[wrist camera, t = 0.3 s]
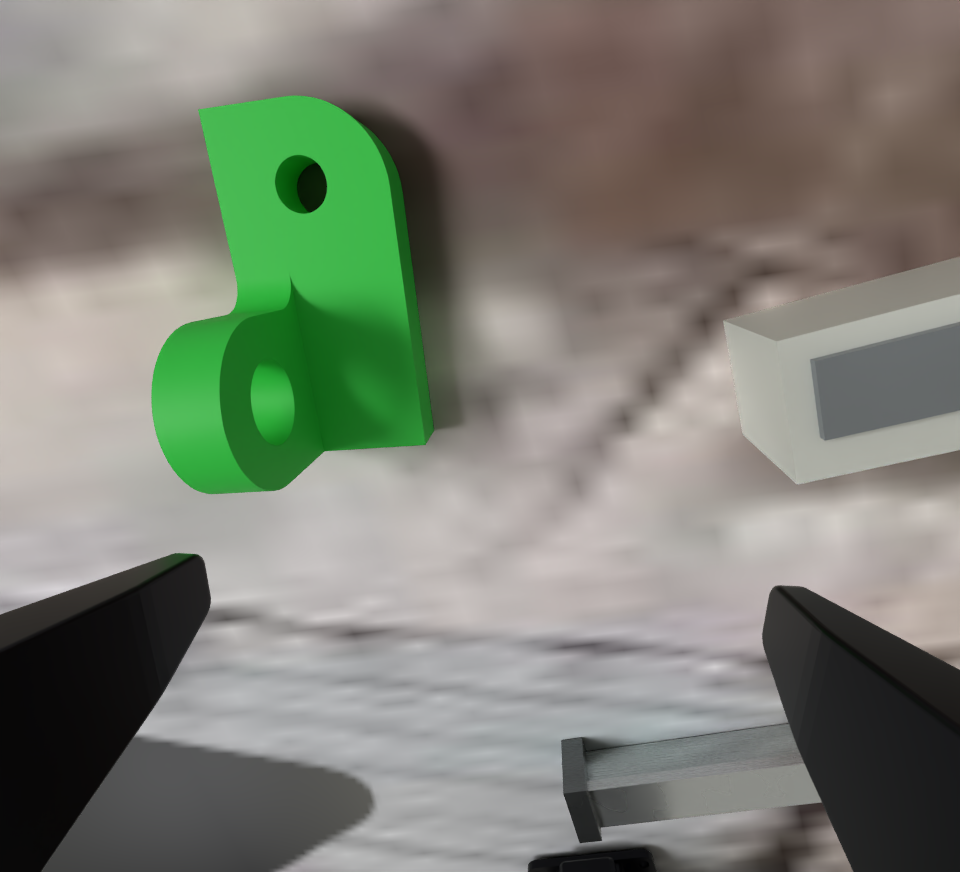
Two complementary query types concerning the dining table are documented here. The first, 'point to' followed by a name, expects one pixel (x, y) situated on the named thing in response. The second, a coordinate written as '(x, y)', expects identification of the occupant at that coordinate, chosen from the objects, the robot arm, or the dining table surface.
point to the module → (853, 374)
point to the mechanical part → (297, 308)
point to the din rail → (683, 778)
